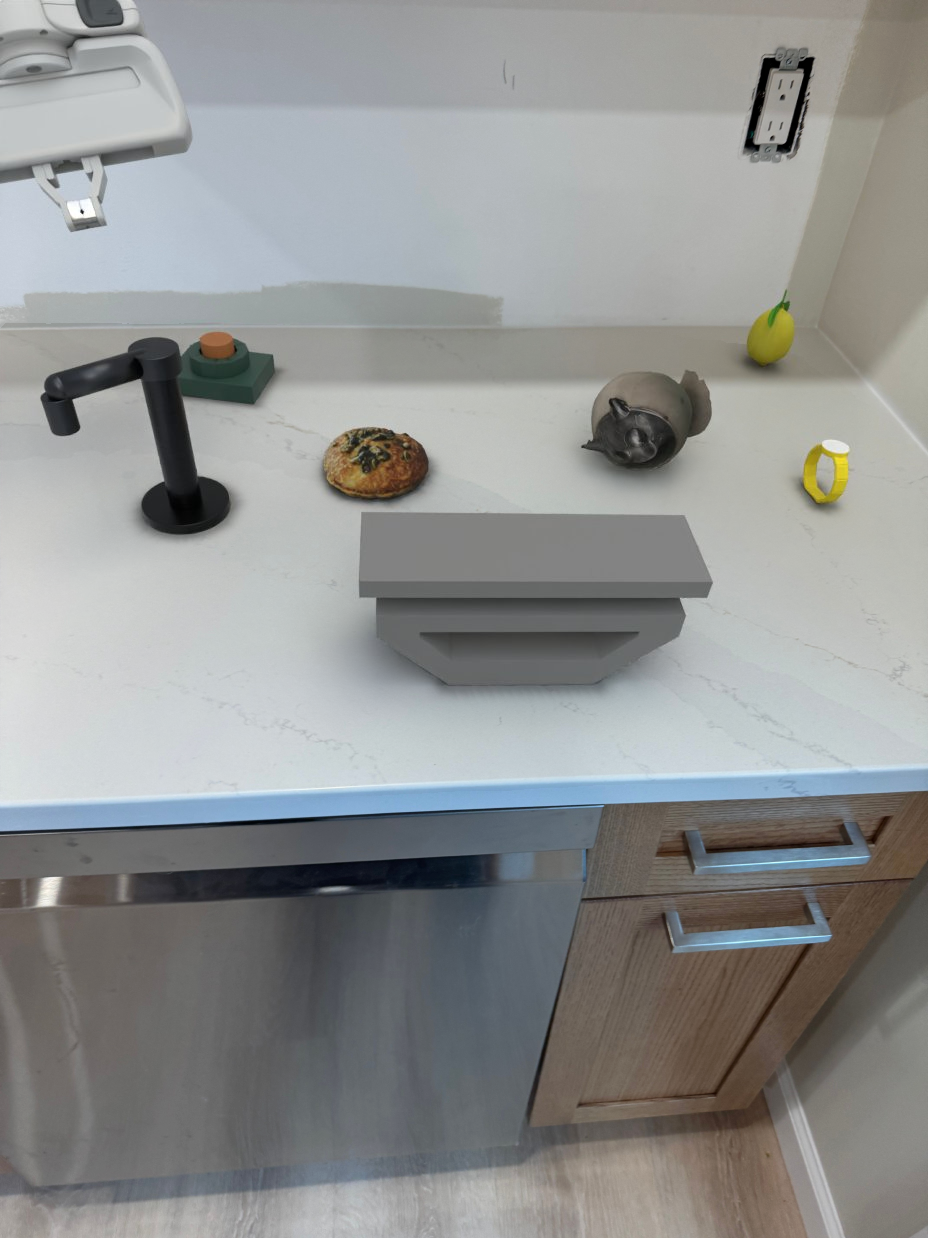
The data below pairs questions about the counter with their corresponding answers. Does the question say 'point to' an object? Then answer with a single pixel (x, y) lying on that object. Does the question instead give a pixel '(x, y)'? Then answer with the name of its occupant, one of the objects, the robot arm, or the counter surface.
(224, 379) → the control block
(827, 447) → the watch
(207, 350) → the tap button
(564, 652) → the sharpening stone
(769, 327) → the lemon
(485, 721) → the counter surface
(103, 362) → the spout
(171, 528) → the faucet base
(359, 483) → the bread roll
